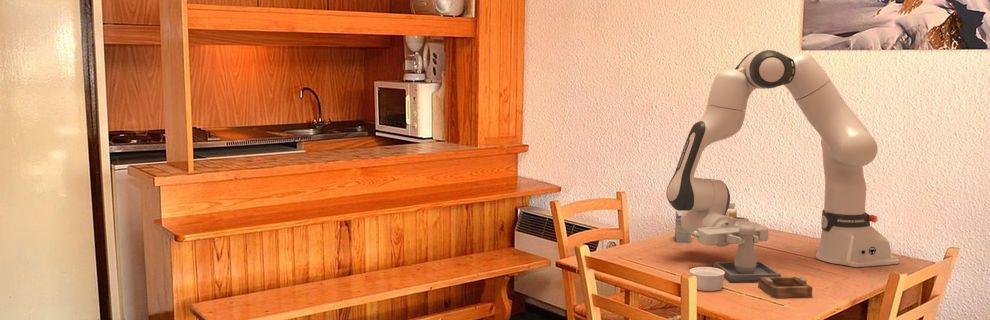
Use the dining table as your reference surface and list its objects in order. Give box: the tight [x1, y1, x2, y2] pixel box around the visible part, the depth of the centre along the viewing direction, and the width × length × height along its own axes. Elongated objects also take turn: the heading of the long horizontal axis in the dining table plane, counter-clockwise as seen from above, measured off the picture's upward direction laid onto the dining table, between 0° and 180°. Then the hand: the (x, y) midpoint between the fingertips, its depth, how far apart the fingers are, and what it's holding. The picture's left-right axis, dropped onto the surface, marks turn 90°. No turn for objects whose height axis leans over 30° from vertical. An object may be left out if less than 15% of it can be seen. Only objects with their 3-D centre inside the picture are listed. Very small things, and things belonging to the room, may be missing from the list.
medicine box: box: [674, 210, 692, 244], centre depth 277 cm, size 8×4×9 cm, turn 172°
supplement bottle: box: [726, 200, 738, 217], centre depth 290 cm, size 5×5×10 cm
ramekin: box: [689, 266, 725, 292], centre depth 224 cm, size 9×9×4 cm
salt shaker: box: [734, 225, 757, 274], centre depth 234 cm, size 6×6×13 cm
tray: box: [713, 260, 782, 284], centre depth 235 cm, size 14×14×2 cm
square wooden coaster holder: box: [757, 276, 813, 299], centre depth 219 cm, size 10×10×3 cm
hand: (749, 240), depth 233 cm, fingers closed on salt shaker, 3 cm apart
